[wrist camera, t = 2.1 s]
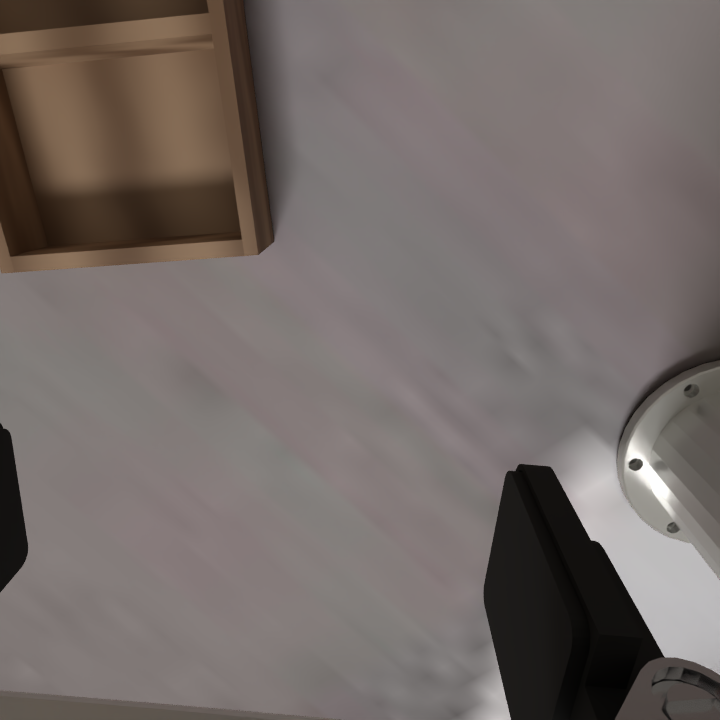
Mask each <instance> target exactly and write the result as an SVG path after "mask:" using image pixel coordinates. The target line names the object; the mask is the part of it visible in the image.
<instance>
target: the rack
mask: <svg viewBox="0 0 720 720" xmlns="http://www.w3.org/2000/svg"><path fill="white" fill-rule="evenodd" d="M273 242H274V237H273V230H272V222H271V214H270V206H269V199H268V191H267V183H266V175H265V167H264V160H263V152H262V144H261V136H260V128H259V121H258V113H257V105H256V97H255V90H254V82H253V74H252V66H251V58H250V51H249V43H248V35H247V27H246V19H245V12H244V4H243V0H0V269H1V273H13V272H27V271H41V270H55V269H68V268H82V267H96V266H110V265H124V264H138V263H152V262H166V261H179V260H193V259H207V258H221V257H235V256H249V255H259V254H260V253H261V252H262V251H263V250H265V249H266V248H267V247H268V246H269V245H271V244H272V243H273Z"/></svg>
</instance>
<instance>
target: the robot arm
mask: <svg viewBox="0 0 720 720" xmlns="http://www.w3.org/2000/svg"><path fill="white" fill-rule="evenodd" d="M686 386H687V387H686ZM617 471H618V479H619V482H620V485H621V488H622V491H623V494H624V495H625V497H626V499H627V500H628V502H629V504H630V505H631V507H632V508H633V509H634V511H635V512H636V513H637V514H638V516H639V517H640V518H641V520H643V521H644V522H645V523H646V524H648V525H649V526H650V527H651V528H653V529H654V530H655V531H657V532H659V533H661V534H663V535H665V536H667V537H669V538H672V539H676V540H679V541H682V542H686V543H691V544H692V545H693V546H694V548H695V549H696V550H697V551H698V553H699V554H700V555H701V557H702V558H703V559H704V560H705V562H706V563H707V564H708V566H709V567H710V568H711V569H712V571H713V572H714V573H715V575H716V576H717V577H718V579H719V580H720V360H719V361H714V362H710V363H705V364H702V365H699V366H697V367H694V368H692V369H689V370H687V371H684V372H682V373H681V374H679V375H677V376H676V377H674V378H672V379H670V380H669V381H667V382H665V383H664V384H663V385H662V386H660V387H659V388H658V389H657V390H656V391H654V392H653V393H652V394H651V395H649V396H648V397H647V399H646V400H645V401H644V402H643V403H642V404H641V405H640V407H639V408H638V409H637V410H636V411H635V413H634V414H633V416H632V418H631V419H630V421H629V423H628V424H627V426H626V428H625V430H624V433H623V436H622V439H621V441H620V444H619V450H618V457H617ZM27 553H28V542H27V536H26V529H25V523H24V516H23V510H22V503H21V497H20V491H19V484H18V478H17V471H16V465H15V458H14V452H13V445H12V439H11V435H10V433H9V431H8V430H7V429H3V426H2V425H1V424H0V592H1V591H2V590H3V589H4V587H5V586H6V585H7V584H8V583H9V581H10V580H11V579H12V578H13V577H14V575H15V574H16V573H17V572H18V571H19V570H20V568H21V567H22V566H23V564H24V562H25V560H26V557H27ZM484 604H485V609H486V613H487V618H488V622H489V626H490V631H491V635H492V639H493V644H494V648H495V652H496V656H497V661H498V665H499V669H500V674H501V678H502V682H503V687H504V691H505V695H506V700H507V704H508V708H509V712H510V717H511V720H720V675H719V674H717V673H715V672H714V671H712V670H710V669H708V668H706V667H704V666H701V665H699V664H697V663H695V662H691V661H687V660H683V659H679V658H665V657H664V656H663V654H662V652H661V650H660V648H659V647H658V645H657V643H656V641H655V639H654V638H653V636H652V634H651V632H650V631H649V629H648V627H647V625H646V623H645V622H644V620H643V618H642V616H641V614H640V613H639V611H638V609H637V607H636V606H635V604H634V602H633V600H632V598H631V597H630V595H629V593H628V591H627V589H626V588H625V586H624V584H623V582H622V580H621V579H620V577H619V575H618V573H617V572H616V570H615V568H614V566H613V564H612V563H611V561H610V559H609V557H608V555H607V554H606V552H605V550H604V549H603V547H602V546H601V545H600V543H598V542H596V541H591V540H590V538H589V536H588V534H587V532H586V531H585V529H584V527H583V525H582V523H581V521H580V519H579V518H578V516H577V514H576V512H575V510H574V508H573V506H572V505H571V503H570V501H569V499H568V497H567V495H566V493H565V492H564V490H563V488H562V486H561V484H560V482H559V480H558V479H557V477H556V475H555V473H554V471H553V469H552V468H551V467H548V466H537V465H525V464H519V465H518V467H517V469H516V471H508V472H507V474H506V476H505V481H504V486H503V491H502V496H501V501H500V506H499V512H498V517H497V522H496V527H495V532H494V537H493V542H492V547H491V553H490V558H489V563H488V568H487V573H486V578H485V584H484ZM0 720H340V719H329V718H318V717H307V716H296V715H284V714H273V713H262V712H251V711H240V710H228V709H217V708H205V707H194V706H182V705H170V704H158V703H146V702H134V701H122V700H110V699H98V698H86V697H74V696H62V695H50V694H37V693H25V692H13V691H0Z"/></svg>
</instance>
